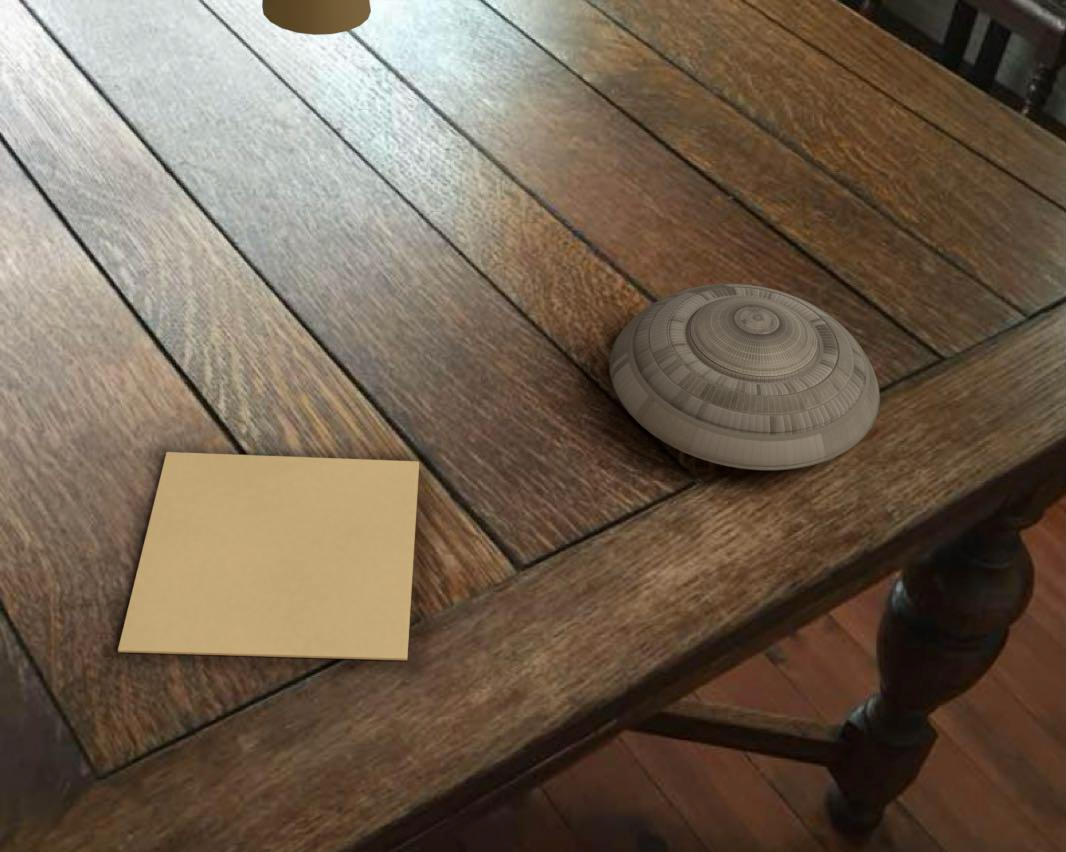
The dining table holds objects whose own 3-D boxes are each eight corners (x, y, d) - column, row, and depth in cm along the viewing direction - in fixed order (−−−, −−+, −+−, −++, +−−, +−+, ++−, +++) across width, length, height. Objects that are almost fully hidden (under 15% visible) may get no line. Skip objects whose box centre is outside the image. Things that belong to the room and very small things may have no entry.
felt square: (166, 454, 70) (166, 451, 70) (419, 463, 71) (419, 461, 71) (118, 652, 61) (117, 650, 61) (407, 660, 62) (407, 658, 62)
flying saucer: (602, 306, 81) (612, 228, 77) (850, 320, 82) (873, 243, 78) (611, 482, 71) (623, 402, 67) (894, 496, 72) (923, 419, 68)
